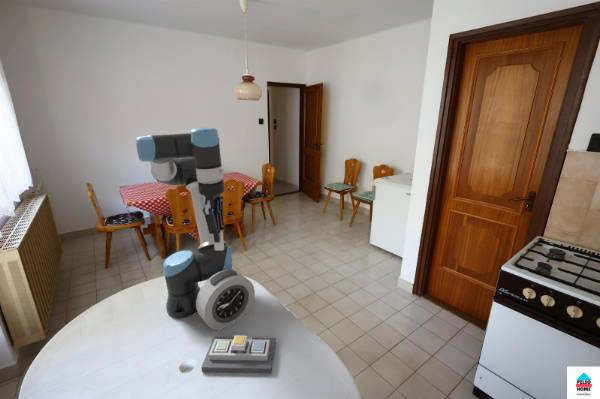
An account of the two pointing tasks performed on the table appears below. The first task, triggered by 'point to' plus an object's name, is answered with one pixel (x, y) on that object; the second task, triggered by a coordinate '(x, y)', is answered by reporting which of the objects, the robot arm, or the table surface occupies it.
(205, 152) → the robot arm
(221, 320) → the alarm clock
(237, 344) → the key ochre
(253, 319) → the table surface
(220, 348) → the key sage
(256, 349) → the key blue
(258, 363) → the keypad
